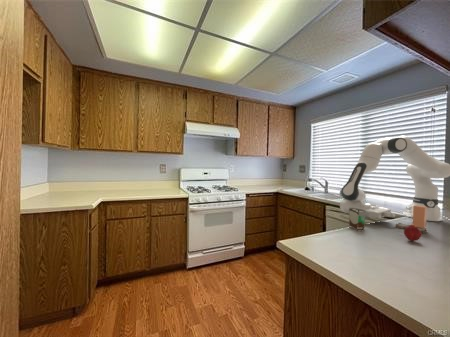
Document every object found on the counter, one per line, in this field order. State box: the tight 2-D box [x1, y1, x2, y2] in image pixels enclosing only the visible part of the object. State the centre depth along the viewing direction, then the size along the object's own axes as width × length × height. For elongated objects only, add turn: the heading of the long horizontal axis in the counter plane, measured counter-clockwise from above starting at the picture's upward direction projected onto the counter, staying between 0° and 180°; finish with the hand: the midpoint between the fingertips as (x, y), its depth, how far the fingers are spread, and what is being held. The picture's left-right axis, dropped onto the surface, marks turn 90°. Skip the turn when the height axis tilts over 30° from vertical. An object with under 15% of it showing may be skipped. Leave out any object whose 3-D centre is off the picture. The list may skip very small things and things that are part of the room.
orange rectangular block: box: [412, 205, 427, 229], centre depth 108 cm, size 4×4×12 cm
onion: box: [403, 223, 422, 242], centre depth 93 cm, size 6×6×8 cm
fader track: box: [394, 222, 428, 234], centre depth 111 cm, size 12×5×2 cm, turn 35°
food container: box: [348, 207, 367, 231], centre depth 110 cm, size 12×6×10 cm, turn 171°
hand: (395, 215), depth 117 cm, fingers closed
